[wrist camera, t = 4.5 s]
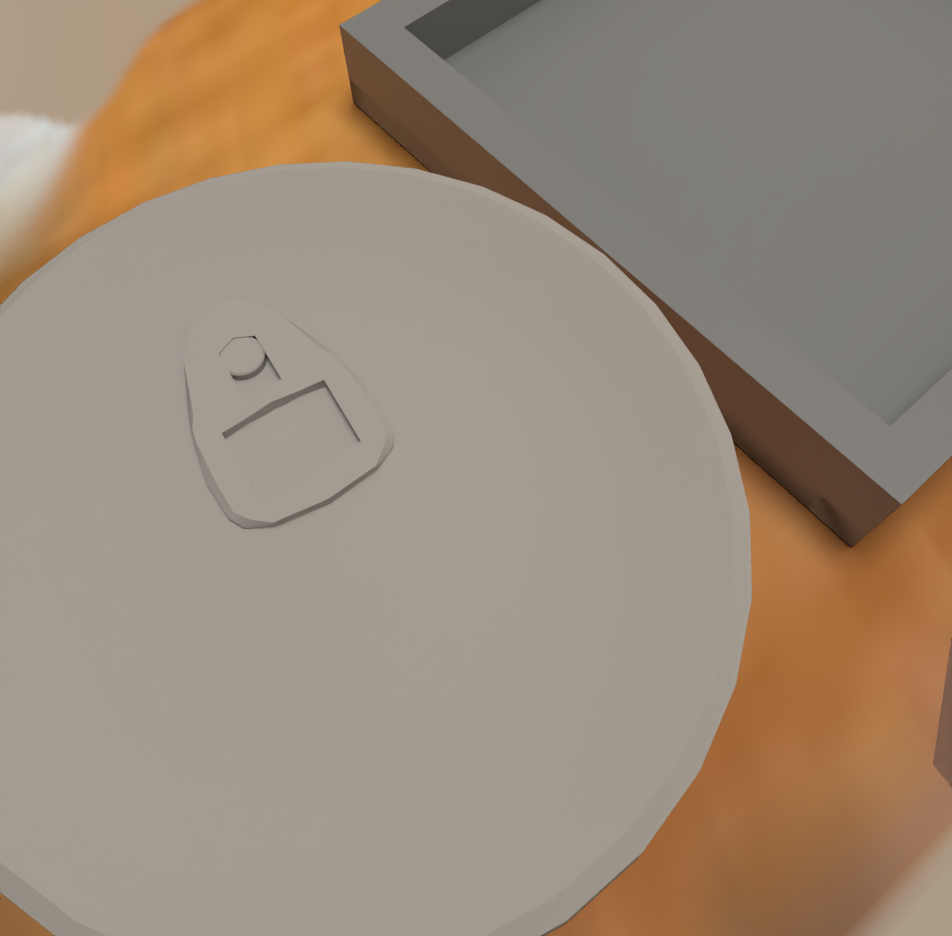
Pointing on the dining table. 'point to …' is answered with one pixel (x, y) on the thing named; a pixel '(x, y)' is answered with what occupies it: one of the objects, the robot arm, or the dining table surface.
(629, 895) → the dining table surface
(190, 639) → the canned food
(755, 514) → the dining table surface
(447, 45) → the tray
